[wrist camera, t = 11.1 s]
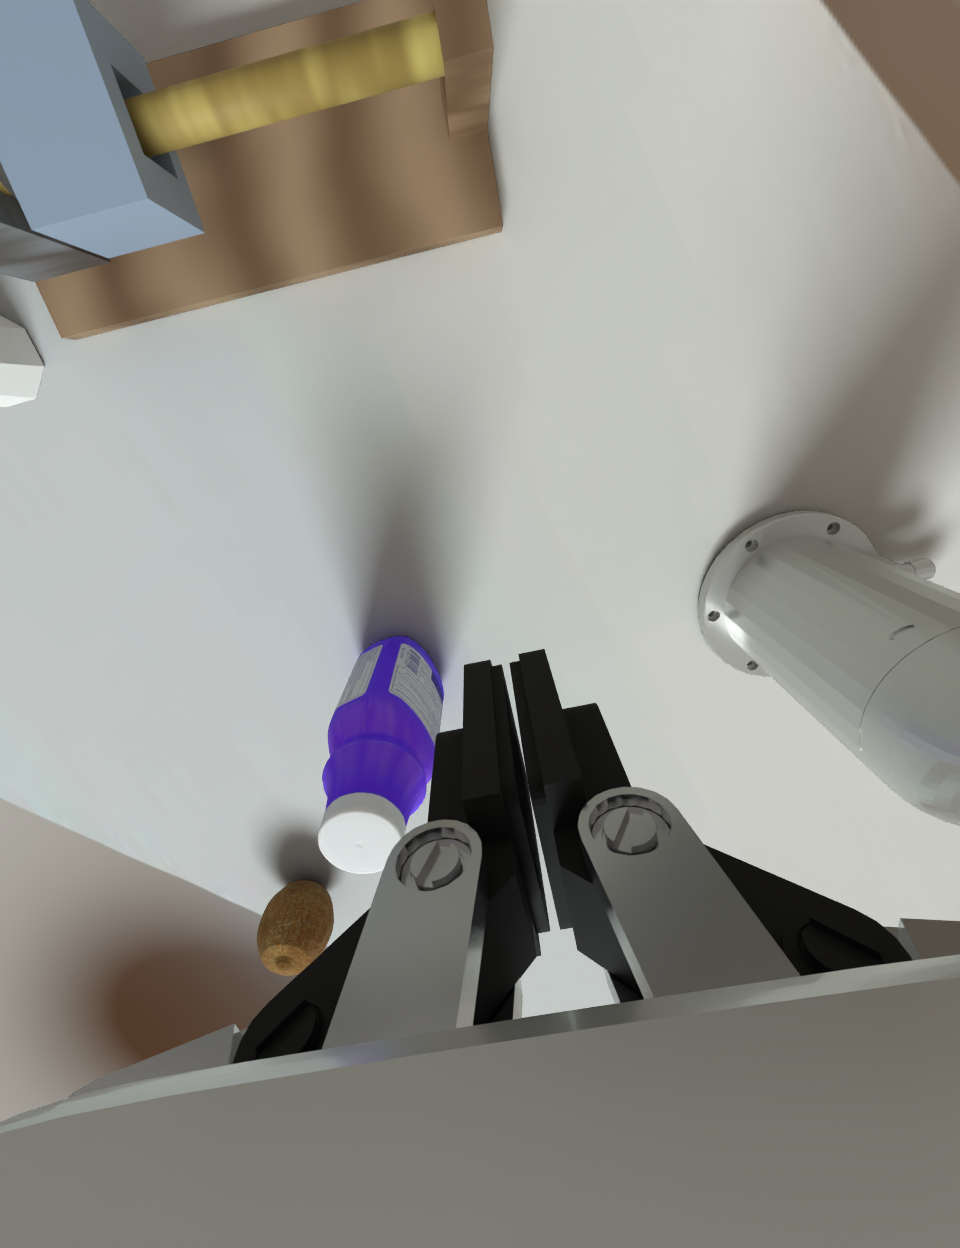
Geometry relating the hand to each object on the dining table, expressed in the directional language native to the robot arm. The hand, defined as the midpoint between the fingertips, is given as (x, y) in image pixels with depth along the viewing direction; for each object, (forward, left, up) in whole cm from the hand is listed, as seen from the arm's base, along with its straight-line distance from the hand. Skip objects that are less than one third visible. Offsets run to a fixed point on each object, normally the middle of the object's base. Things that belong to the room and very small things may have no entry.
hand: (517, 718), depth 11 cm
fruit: (+24, +32, -27) cm, 49 cm away
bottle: (+9, +12, -27) cm, 31 cm away
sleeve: (+13, -19, -22) cm, 32 cm away
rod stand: (+9, -19, -27) cm, 34 cm away
